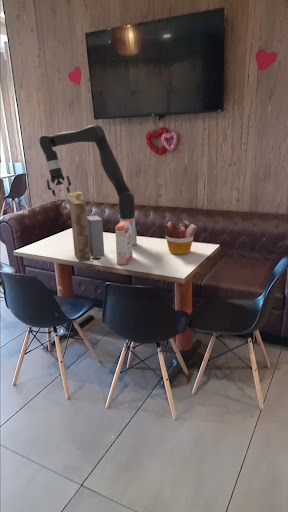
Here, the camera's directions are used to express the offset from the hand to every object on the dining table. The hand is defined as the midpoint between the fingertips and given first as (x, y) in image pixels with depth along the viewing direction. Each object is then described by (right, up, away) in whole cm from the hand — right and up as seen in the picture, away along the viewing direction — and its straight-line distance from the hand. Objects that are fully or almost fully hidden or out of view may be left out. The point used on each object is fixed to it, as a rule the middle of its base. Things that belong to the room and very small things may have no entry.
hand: (61, 194), depth 225 cm
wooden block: (+16, -39, -19) cm, 46 cm away
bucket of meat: (+72, -36, -15) cm, 82 cm away
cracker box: (+41, -41, -26) cm, 63 cm away
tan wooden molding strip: (+13, -7, -24) cm, 28 cm away
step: (+23, -37, -13) cm, 46 cm away
